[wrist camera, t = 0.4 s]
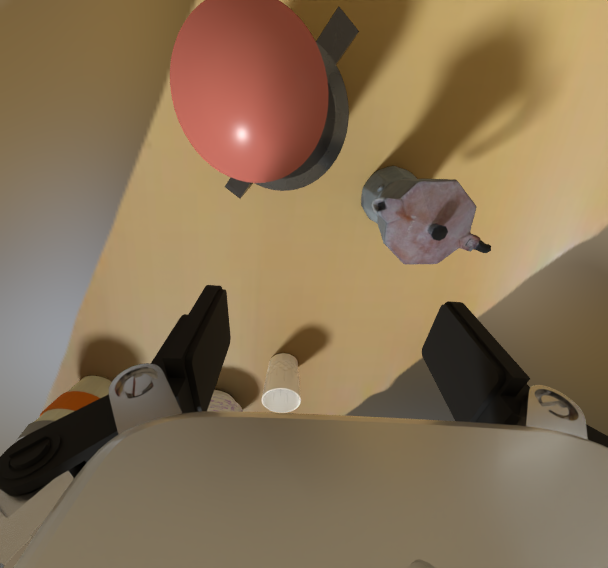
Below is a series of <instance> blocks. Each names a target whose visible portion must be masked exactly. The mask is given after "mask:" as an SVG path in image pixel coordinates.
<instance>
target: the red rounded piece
mask: <svg viewBox="0 0 608 568" xmlns="http://www.w3.org/2000/svg"><path fill="white" fill-rule="evenodd" d="M170 86H171V94H172V100H173V104H174V108H175V112H176V114H177V117H178V120H179V123H180V125H181V127H182V129H183V131H184V133H185V135H186V137H187V138H188V140H189V142H190V143H191V144H192V146H193V147H194V148H195V150H196V151H197V152H198V153H199V154H200V156H201V157H202V158H203V159H204V160H205V161H207V162H208V163H209V164H210V165H211V166H212V167H214V168H215V169H217V170H218V171H219V172H221V173H223V174H225V175H227V176H229V177H231V178H234V179H237V180H240V181H244V182H251V183H265V182H271V181H275V180H278V179H281V178H283V177H285V176H287V175H289V174H291V173H292V172H294V171H295V170H297V169H298V168H299V167H300V166H301V165H302V164H303V163H304V162H305V161H306V160H307V159H308V158H309V156H310V155H311V154H312V152H313V151H314V149H315V148H316V146H317V144H318V142H319V140H320V137H321V135H322V132H323V129H324V126H325V122H326V118H327V111H328V81H327V75H326V70H325V66H324V62H323V59H322V56H321V53H320V51H319V48H318V46H317V44H316V42H315V40H314V38H313V36H312V35H311V33H310V31H309V30H308V28H307V27H306V26H305V24H304V23H303V22H302V20H301V19H300V18H299V17H298V16H297V15H296V14H295V13H294V12H293V11H292V10H291V9H290V8H289V7H287V6H286V5H285V4H283V3H282V2H281V1H279V0H205V1H204V2H202V3H201V4H200V5H199V6H198V7H196V8H195V9H194V10H193V11H192V12H191V14H190V15H189V17H188V18H187V19H186V21H185V22H184V24H183V26H182V28H181V29H180V31H179V33H178V36H177V39H176V42H175V44H174V48H173V53H172V57H171V66H170Z"/></svg>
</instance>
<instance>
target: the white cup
mask: <svg viewBox="0 0 608 568" xmlns="http://www.w3.org/2000/svg"><path fill="white" fill-rule="evenodd" d="M300 402H301V396H300V379H299V371H298V361H297V359H296V358H295V357H294V356H292V355H290V354H286V353H281V354H276V355H275V356H273V357H272V358H271V360H270V362H269V367H268V371H267V375H266V379H265V385H264V390H263V396H262V403H263V405H264V406H265V407H266V408H267V409H269V410H271V411H273V412H279V413H284V412H290V411H292V410H294V409H296V408H297V407H298V406H299V405H300Z"/></svg>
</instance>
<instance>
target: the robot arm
mask: <svg viewBox="0 0 608 568" xmlns="http://www.w3.org/2000/svg"><path fill="white" fill-rule="evenodd" d="M229 345H230V327H229V316H228V305H227V293H226V290H223V289H222V287H221V286H214V285H206V287H205V288H204V290H203V292H202V293H201V295H200V297H199V298H198V300H197V301H196V303H195V305H194V306H193V308H192V310H191V311H190V313H189V315H185V314H184V315H182V316H181V318H180V319H179V320H178V322H177V324H176V325H175V327H174V328H173V330H172V331H171V333H170V334H169V336H168V338H167V339H166V341H165V342H164V344H163V345H162V347H161V349H160V350H159V352H158V353H157V355H156V356H155V358H154V359H153V361H152V363H151V364H149V363H146V364H139V365H135V366H132V367H130V368H128V369H126V370H124V371H123V372H121V373H120V374H119V375H118V376H116V378H115V379H114V380H113V381H112V383H111V385H110V387H109V394H108V395H106V396H104V397H102V398H100V399H98V400H96V401H94V402H92V403H90V404H88V405H86V406H84V407H82V408H80V409H78V410H76V411H74V412H72V413H70V414H68V415H66V416H64V417H62V418H60V419H58V420H56V421H54V422H52V423H50V424H48V425H46V426H44V427H42V428H40V429H38V430H36V431H34V432H32V433H30V434H28V435H26V436H25V437H23V438H21V439H20V440H18V441H17V442H16V443H14V444H13V445H12V446H11V447H10V448H8V449H7V450H6V451H5V452H4V454H3V455H2V456H1V457H0V568H4V566H5V564H7V562H8V561H9V560H10V559H11V558H12V557H13V556H14V555H15V553H16V552H17V551H18V550H19V549H21V548H22V547H23V546H24V545H25V544H26V543H27V542H28V541H29V540H30V539H31V538H32V535H31V533H32V532H33V531H34V530H35V529H36V528H38V527H39V526H40V525H41V524H42V525H41V526H40V528H39V529H38V531H37V532H36V534H35V535H34V537H33V538H32V540H31V541H30V543H29V544H28V546H27V547H26V549H25V550H24V552H23V554H22V555H21V557H20V558H19V560H18V561H17V563H16V565H15V566H14V567H13V568H608V436H606V435H605V434H603V433H601V432H599V431H597V430H595V429H594V428H592V427H590V426H588V425H586V421H585V417H584V414H583V412H582V411H581V409H580V408H579V407H578V406H577V405H576V404H575V403H574V402H573V401H572V400H571V399H569V398H568V397H567V396H565V395H564V394H562V393H560V392H558V391H557V390H554V389H552V388H549V387H546V386H542V385H534V386H532V387H529V386H528V385H527V384H526V383H527V382H528V381H529V379H530V378H529V377H528V376H527V374H526V373H525V372H524V371H523V370H522V369H521V368H520V367H519V365H518V364H517V363H516V362H515V361H514V360H513V359H512V358H511V356H510V355H509V354H508V353H507V352H506V351H505V350H504V349H503V347H502V346H501V345H500V344H499V343H498V342H497V341H496V340H495V338H494V337H493V336H492V335H491V334H490V333H489V332H488V331H487V329H486V328H485V327H484V326H483V325H482V324H481V323H480V322H479V321H478V319H477V318H476V317H475V316H474V315H473V314H472V313H471V311H470V310H469V309H468V308H467V307H466V306H465V305H464V304H463V303H461V302H446V303H445V304H444V305H442V306H441V307H440V309H439V312H438V314H437V316H436V318H435V321H434V323H433V325H432V327H431V330H430V332H429V334H428V337H427V339H426V341H425V343H424V346H423V348H422V356H423V358H424V360H425V362H426V364H427V366H428V368H429V370H430V372H431V374H432V376H433V378H434V380H435V382H436V384H437V386H438V388H439V390H440V392H441V394H442V396H443V398H444V400H445V401H446V403H447V405H448V407H449V409H450V411H451V413H452V415H453V417H454V419H455V421H439V420H421V419H402V418H382V417H361V416H340V415H318V414H295V413H272V412H237V411H207V410H208V407H209V404H210V401H211V398H212V395H213V392H214V389H215V386H216V383H217V380H218V377H219V374H220V371H221V368H222V365H223V363H224V360H225V357H226V354H227V351H228V348H229Z"/></svg>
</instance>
